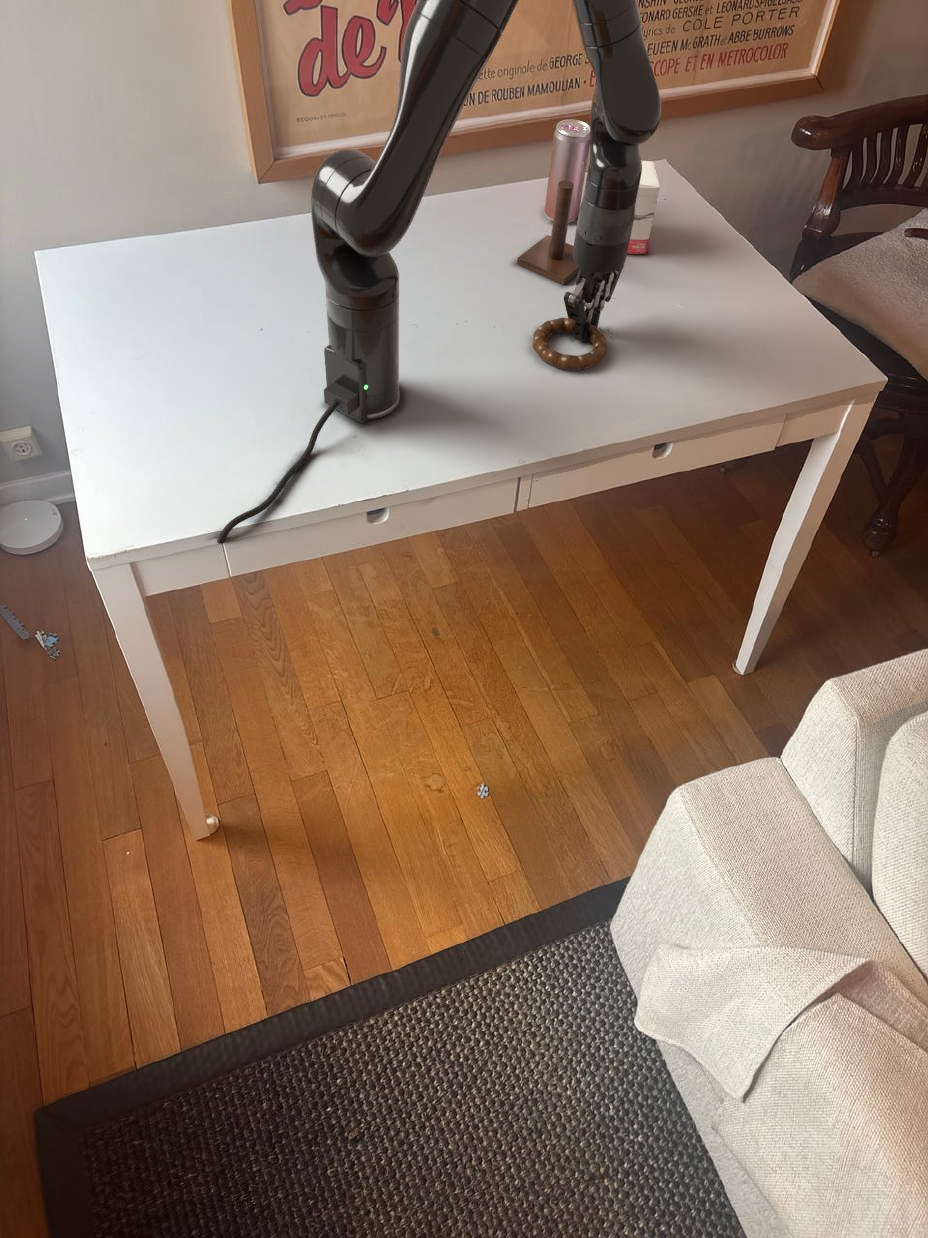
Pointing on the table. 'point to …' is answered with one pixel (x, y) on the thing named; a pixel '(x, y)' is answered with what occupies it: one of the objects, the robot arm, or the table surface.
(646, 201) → the ink box
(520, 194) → the table surface
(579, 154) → the beverage can
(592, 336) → the ring
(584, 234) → the robot arm
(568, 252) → the post
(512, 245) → the table surface
